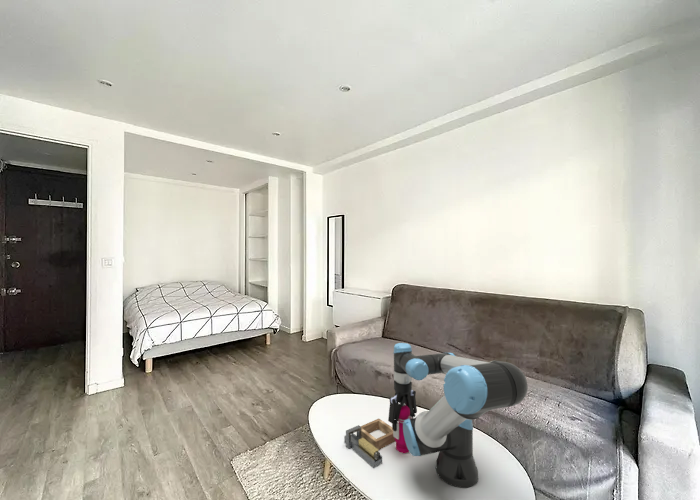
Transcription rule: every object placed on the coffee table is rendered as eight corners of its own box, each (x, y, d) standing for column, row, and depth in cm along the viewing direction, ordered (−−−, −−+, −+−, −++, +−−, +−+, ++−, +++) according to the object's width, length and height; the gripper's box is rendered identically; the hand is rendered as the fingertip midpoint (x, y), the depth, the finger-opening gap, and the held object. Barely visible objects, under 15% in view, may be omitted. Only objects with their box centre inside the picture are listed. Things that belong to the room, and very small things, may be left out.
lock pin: (380, 458, 121) (380, 450, 121) (375, 461, 119) (374, 453, 119) (363, 444, 130) (363, 437, 130) (358, 447, 128) (358, 439, 128)
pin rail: (384, 462, 122) (384, 444, 122) (371, 469, 118) (371, 451, 118) (354, 437, 138) (354, 422, 138) (342, 443, 134) (341, 427, 134)
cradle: (398, 440, 136) (398, 431, 136) (376, 451, 129) (376, 441, 129) (378, 426, 147) (378, 418, 147) (357, 436, 139) (357, 427, 139)
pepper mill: (399, 455, 126) (398, 407, 126) (391, 445, 133) (391, 399, 133) (414, 452, 128) (414, 404, 128) (407, 442, 135) (406, 396, 135)
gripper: (412, 372, 139) (413, 422, 139) (378, 383, 127) (379, 438, 127) (425, 377, 133) (425, 430, 133) (391, 390, 121) (391, 447, 121)
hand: (403, 434), depth 130 cm, fingers open, 8 cm apart
